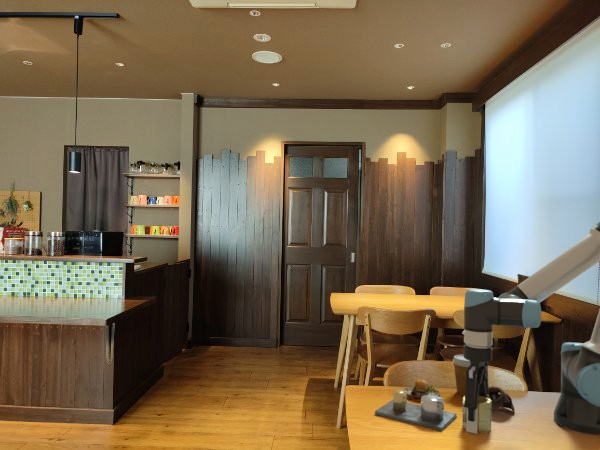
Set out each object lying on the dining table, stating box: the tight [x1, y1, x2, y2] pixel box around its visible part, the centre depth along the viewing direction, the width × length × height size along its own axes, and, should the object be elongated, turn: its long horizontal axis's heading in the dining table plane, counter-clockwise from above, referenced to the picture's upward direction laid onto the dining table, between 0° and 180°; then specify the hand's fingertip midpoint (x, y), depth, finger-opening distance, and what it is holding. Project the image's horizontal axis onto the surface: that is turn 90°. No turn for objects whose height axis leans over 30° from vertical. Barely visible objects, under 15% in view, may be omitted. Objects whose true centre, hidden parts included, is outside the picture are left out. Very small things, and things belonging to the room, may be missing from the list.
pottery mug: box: [488, 385, 516, 414], centre depth 150 cm, size 12×10×8 cm
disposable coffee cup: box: [452, 354, 471, 396], centre depth 166 cm, size 10×10×12 cm
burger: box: [403, 378, 441, 403], centre depth 161 cm, size 12×12×8 cm
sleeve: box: [461, 395, 492, 434], centre depth 135 cm, size 7×7×8 cm
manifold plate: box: [374, 389, 457, 432], centre depth 144 cm, size 20×13×6 cm, turn 55°
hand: (476, 426), depth 135 cm, fingers open, 9 cm apart
